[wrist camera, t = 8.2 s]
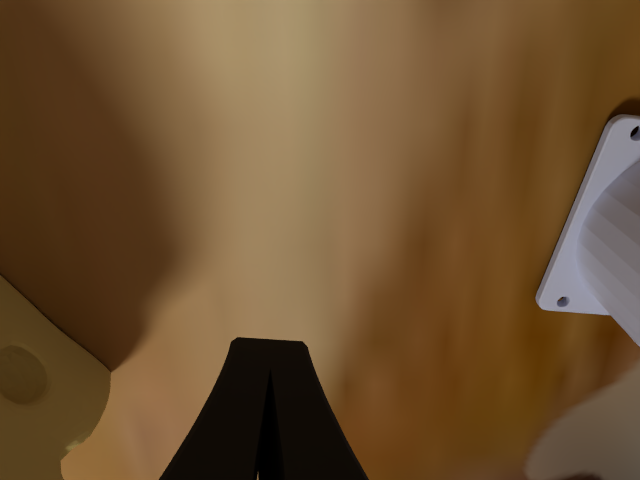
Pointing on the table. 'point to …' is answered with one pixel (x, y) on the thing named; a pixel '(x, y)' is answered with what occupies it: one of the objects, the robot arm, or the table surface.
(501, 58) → the table surface
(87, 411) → the cheese
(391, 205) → the table surface
